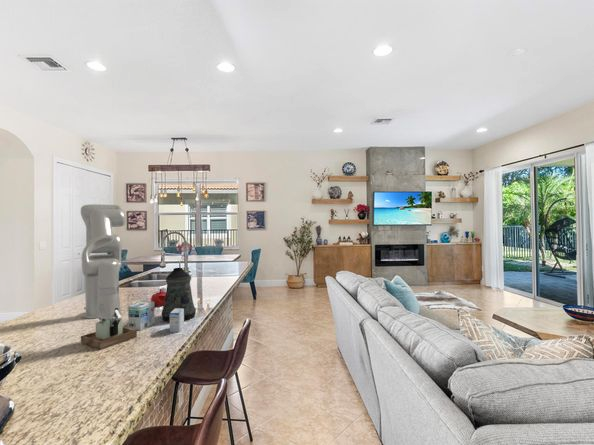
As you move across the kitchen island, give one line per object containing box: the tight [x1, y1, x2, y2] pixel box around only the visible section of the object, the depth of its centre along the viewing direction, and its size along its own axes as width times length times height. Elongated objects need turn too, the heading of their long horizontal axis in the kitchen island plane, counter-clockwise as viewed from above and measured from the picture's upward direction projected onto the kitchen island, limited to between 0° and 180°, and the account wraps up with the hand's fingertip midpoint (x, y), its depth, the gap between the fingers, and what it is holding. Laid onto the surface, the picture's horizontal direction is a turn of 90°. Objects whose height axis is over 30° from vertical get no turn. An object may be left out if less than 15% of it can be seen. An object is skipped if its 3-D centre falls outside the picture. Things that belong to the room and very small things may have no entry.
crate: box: [80, 326, 138, 351], centre depth 140 cm, size 14×16×3 cm
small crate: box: [95, 318, 123, 340], centre depth 140 cm, size 6×8×6 cm
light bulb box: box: [127, 300, 155, 331], centre depth 157 cm, size 11×7×11 cm, turn 168°
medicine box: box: [169, 308, 185, 333], centre depth 153 cm, size 8×4×9 cm, turn 5°
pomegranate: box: [150, 288, 166, 307], centre depth 196 cm, size 10×10×9 cm
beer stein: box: [161, 267, 197, 323], centre depth 171 cm, size 16×19×25 cm
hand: (109, 333), depth 140 cm, fingers closed on small crate, 5 cm apart
